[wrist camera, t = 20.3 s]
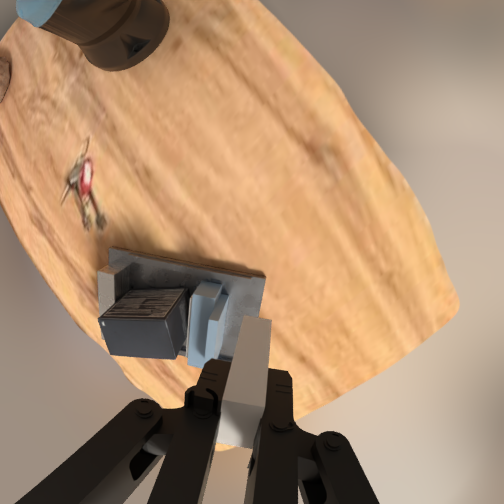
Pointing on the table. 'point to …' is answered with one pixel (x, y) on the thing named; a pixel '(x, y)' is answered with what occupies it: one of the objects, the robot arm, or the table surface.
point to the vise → (181, 275)
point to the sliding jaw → (206, 323)
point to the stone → (4, 76)
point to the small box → (147, 323)
